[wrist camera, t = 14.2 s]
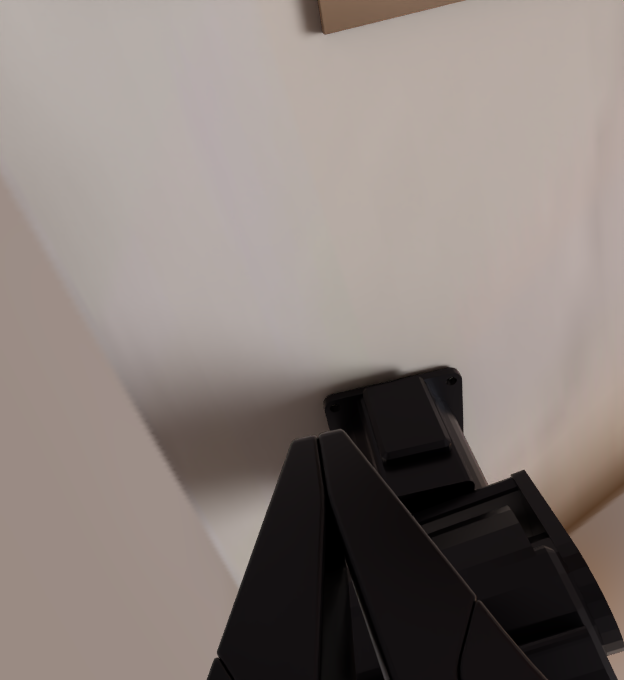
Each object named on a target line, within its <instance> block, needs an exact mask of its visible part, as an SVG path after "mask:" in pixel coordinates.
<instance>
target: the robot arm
mask: <svg viewBox="0 0 624 680" xmlns="http://www.w3.org/2000/svg"><path fill="white" fill-rule="evenodd" d="M451 377H453V378H452V379H450V380H447V379H448V378H451ZM333 404H338V405H336V406H332V405H333ZM324 409H325V413H326V417H327V421H328V425H329V429H330V431H328V432H324V433H321V434H320V435H319V437H317V436H315V435H311V436H307V437H302V438H298V439H295V440H293V441H292V443H291V445H290V448H289V450H288V453H287V456H286V459H285V462H284V464H283V467H282V470H281V473H280V476H279V479H278V481H277V484H276V487H275V490H274V493H273V495H272V498H271V501H270V504H269V507H268V509H267V512H266V515H265V518H264V521H263V524H262V526H261V529H260V532H259V535H258V538H257V540H256V543H255V546H254V549H253V552H252V554H251V557H250V560H249V563H248V566H247V569H246V571H245V574H244V577H243V580H242V583H241V585H240V588H239V591H238V594H237V597H236V599H235V602H234V605H233V608H232V611H231V614H230V616H229V619H228V622H227V625H226V628H225V630H224V633H223V636H222V639H221V642H220V645H219V648H218V650H217V655H218V657H219V658H220V659H219V658H215V659H214V661H213V663H212V666H211V669H210V672H209V675H208V678H207V680H618V679H617V677H616V675H615V673H614V671H613V669H612V667H611V664H610V662H609V660H608V658H607V656H608V655H612V654H615V653H619V652H622V651H624V642H623V639H622V636H621V633H620V630H619V628H618V626H617V623H616V621H615V619H614V616H613V614H612V612H611V610H610V608H609V606H608V604H607V601H606V600H605V597H604V595H603V593H602V591H601V590H600V588H599V586H598V584H597V582H596V580H595V578H594V576H593V574H592V573H591V571H590V569H589V567H588V565H587V564H586V562H585V560H584V559H583V557H582V555H581V553H580V552H579V550H578V549H577V547H576V546H575V544H574V543H573V541H572V539H571V538H570V536H569V535H568V533H567V532H566V531H565V529H564V528H563V526H562V525H561V523H560V522H559V520H558V519H557V517H556V516H555V514H554V513H553V511H552V510H551V508H550V507H549V505H548V504H547V502H546V501H545V499H544V498H543V497H542V495H541V494H540V492H539V491H538V489H537V488H536V486H535V485H534V483H533V482H532V480H531V479H530V477H529V476H528V474H527V473H526V471H525V470H522V471H519V472H516V473H514V474H511V477H510V478H507V479H504V480H502V481H499V482H496V483H494V484H491V485H488V483H487V481H486V479H485V477H484V475H483V473H482V471H481V469H480V467H479V465H478V463H477V461H476V459H475V457H474V455H473V453H472V451H471V448H470V446H469V444H468V442H467V440H466V438H465V436H464V434H463V397H462V377H461V375H460V373H459V371H458V370H457V369H455V368H446V369H441V370H437V371H433V372H428V373H424V374H419V375H415V376H411V377H406V378H402V379H398V380H393V381H389V382H385V383H380V384H376V385H372V386H367V387H363V388H359V389H354V390H350V391H345V392H341V393H337V394H332V395H330V396H328V397H327V398H325V400H324Z"/></svg>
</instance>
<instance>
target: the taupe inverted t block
mask: <svg viewBox="0 0 624 680" xmlns="http://www.w3.org/2000/svg"><path fill="white" fill-rule="evenodd" d="M460 1H464V0H318V6H319V12H320V18H321V25H322V31H323V33H324V34H325V35H326V34H330V33H334V32H338V31H342V30H346V29H350V28H354V27H358V26H362V25H366V24H371V23H375V22H379V21H383V20H387V19H391V18H395V17H399V16H403V15H407V14H411V13H415V12H419V11H423V10H427V9H432V8H436V7H440V6H444V5H448V4H452V3H456V2H460Z"/></svg>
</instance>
